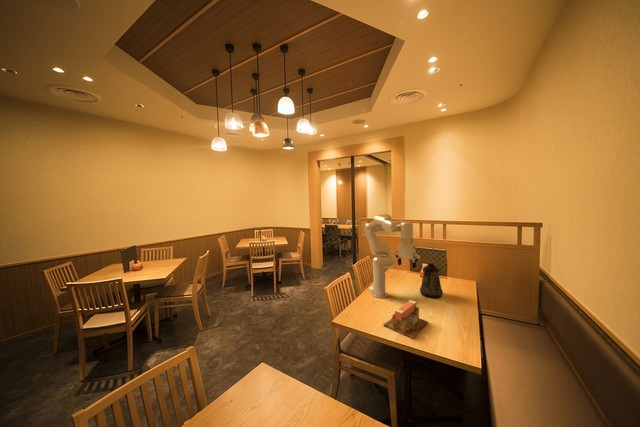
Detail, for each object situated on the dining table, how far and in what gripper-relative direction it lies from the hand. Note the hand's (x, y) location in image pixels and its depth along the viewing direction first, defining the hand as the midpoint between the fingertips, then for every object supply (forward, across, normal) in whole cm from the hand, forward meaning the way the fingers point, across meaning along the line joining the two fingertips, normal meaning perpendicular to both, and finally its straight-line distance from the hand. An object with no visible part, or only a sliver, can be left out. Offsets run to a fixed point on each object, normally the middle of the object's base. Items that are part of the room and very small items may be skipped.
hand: (406, 266), depth 145 cm
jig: (+33, -5, +11) cm, 35 cm away
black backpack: (+34, 0, -43) cm, 55 cm away
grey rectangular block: (+32, -5, +11) cm, 34 cm away
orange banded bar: (+26, -5, +11) cm, 29 cm away
